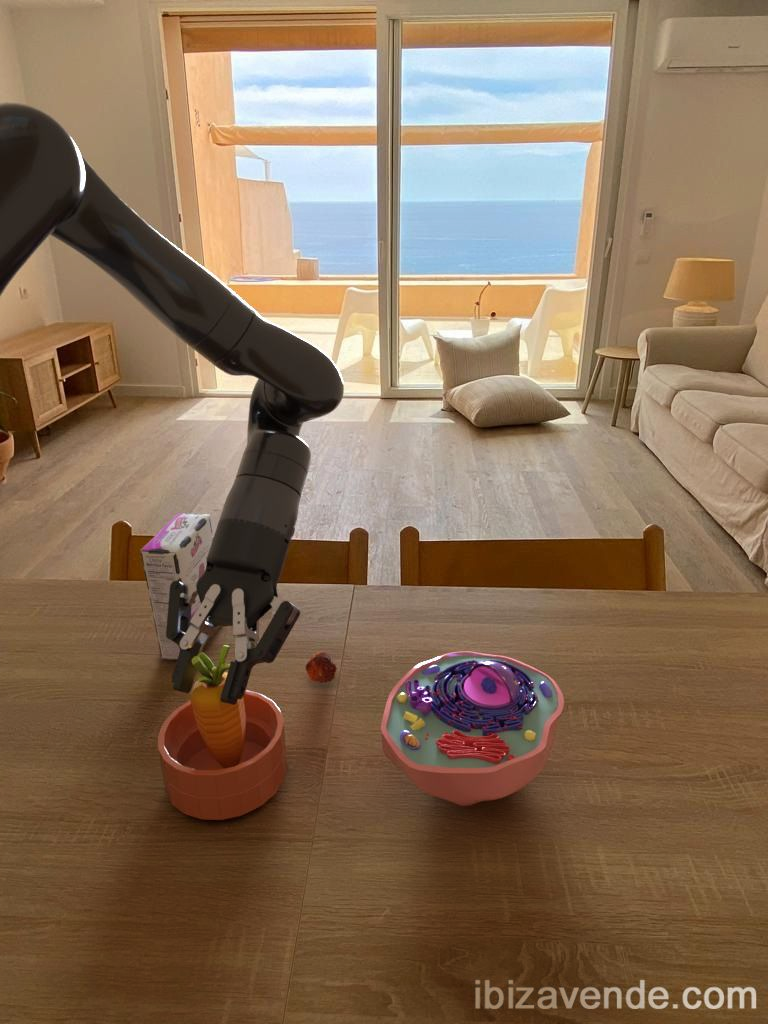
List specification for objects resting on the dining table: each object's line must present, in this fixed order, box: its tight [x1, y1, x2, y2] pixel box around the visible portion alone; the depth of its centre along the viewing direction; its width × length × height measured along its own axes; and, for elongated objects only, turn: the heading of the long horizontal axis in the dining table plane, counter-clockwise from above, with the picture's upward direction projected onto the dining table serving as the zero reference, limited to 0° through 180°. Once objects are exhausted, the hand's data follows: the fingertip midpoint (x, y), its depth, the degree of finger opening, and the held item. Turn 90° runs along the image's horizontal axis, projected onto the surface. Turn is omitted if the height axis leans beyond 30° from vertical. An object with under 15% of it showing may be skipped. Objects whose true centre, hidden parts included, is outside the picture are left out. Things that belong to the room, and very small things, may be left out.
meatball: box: [305, 651, 338, 683], centre depth 85 cm, size 4×4×4 cm
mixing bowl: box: [157, 689, 288, 821], centre depth 71 cm, size 12×12×6 cm
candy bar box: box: [139, 512, 214, 661], centre depth 92 cm, size 11×5×16 cm, turn 171°
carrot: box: [189, 644, 246, 768], centre depth 69 cm, size 5×5×15 cm
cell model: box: [380, 650, 565, 807], centre depth 70 cm, size 17×20×11 cm
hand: (204, 696), depth 65 cm, fingers closed on carrot, 4 cm apart
